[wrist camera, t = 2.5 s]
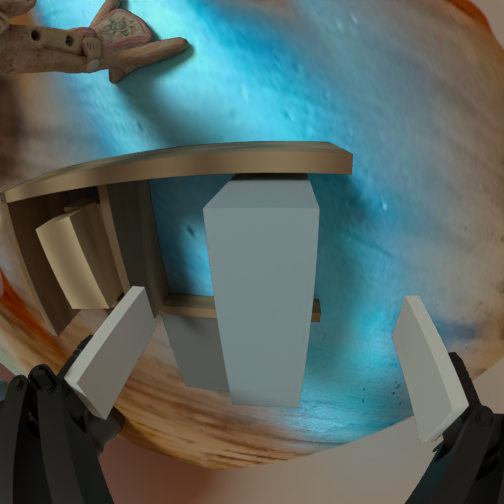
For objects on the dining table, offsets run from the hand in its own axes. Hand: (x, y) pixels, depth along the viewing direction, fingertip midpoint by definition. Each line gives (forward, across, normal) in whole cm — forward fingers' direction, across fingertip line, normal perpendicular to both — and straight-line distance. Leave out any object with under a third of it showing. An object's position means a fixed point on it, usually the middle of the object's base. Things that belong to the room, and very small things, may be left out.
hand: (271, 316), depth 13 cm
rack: (+10, -9, 0) cm, 14 cm away
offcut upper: (+7, -16, 0) cm, 18 cm away
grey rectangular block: (+11, 0, 0) cm, 11 cm away
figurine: (+11, -12, +18) cm, 25 cm away
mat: (+10, -6, -15) cm, 20 cm away
